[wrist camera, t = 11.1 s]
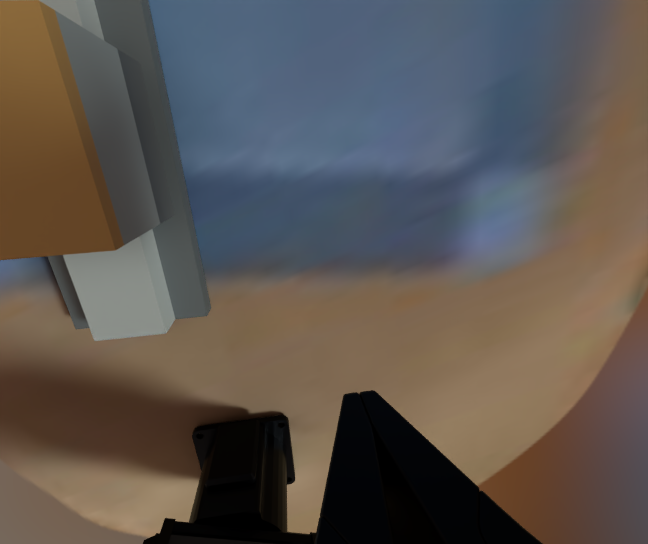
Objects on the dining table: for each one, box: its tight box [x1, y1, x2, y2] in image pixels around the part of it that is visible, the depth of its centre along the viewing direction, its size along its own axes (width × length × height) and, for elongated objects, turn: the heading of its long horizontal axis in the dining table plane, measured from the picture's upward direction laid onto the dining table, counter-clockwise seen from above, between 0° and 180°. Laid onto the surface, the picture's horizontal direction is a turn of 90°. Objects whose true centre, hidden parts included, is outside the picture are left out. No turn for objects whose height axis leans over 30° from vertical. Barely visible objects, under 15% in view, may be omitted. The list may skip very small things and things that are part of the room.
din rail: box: [0, 0, 211, 341], centre depth 14 cm, size 18×7×2 cm, turn 3°
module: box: [0, 0, 175, 260], centre depth 11 cm, size 6×6×6 cm
